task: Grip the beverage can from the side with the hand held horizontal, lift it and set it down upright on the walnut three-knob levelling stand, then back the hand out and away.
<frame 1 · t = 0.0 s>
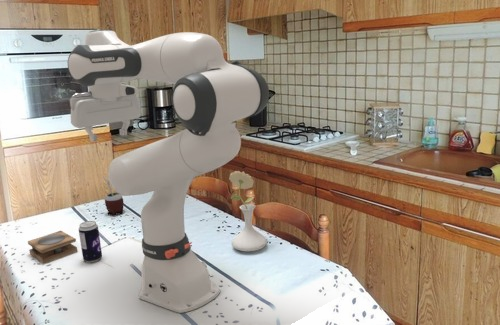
hand: (108, 137, 130), 39 cm above the table, tool pointing down, fingers open, 8 cm apart
flower in vase: (247, 246, 146), on the table
levelling stand: (53, 252, 148), on the table
mate gourd: (114, 213, 182), on the table
beverage can: (93, 260, 142), on the table
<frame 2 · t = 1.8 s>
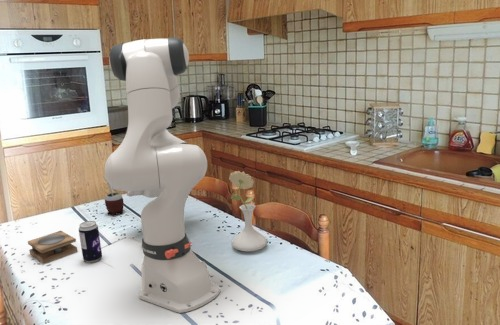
hand: (119, 191, 146), 19 cm above the table, tool horizontal, fingers open, 8 cm apart
nothing on the table moved.
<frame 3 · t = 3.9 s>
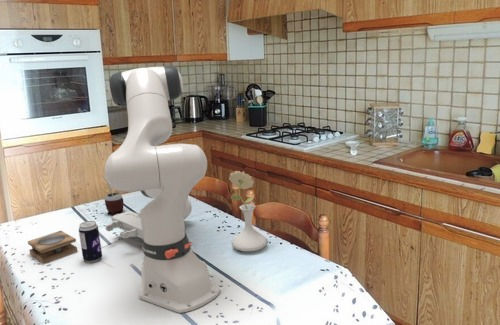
hand: (113, 232, 146), 6 cm above the table, tool horizontal, fingers open, 8 cm apart
nothing on the table moved.
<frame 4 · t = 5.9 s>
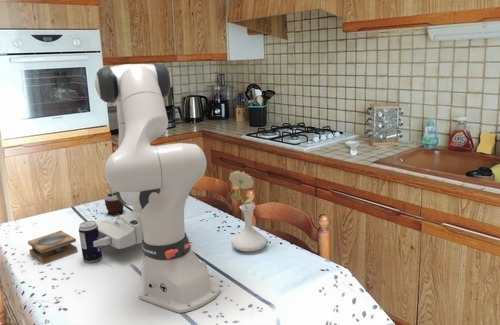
hand: (87, 241, 140), 7 cm above the table, tool horizontal, fingers closed on beverage can, 6 cm apart
beverage can: (93, 260, 142), on the table, touching gripper
everything else where it was.
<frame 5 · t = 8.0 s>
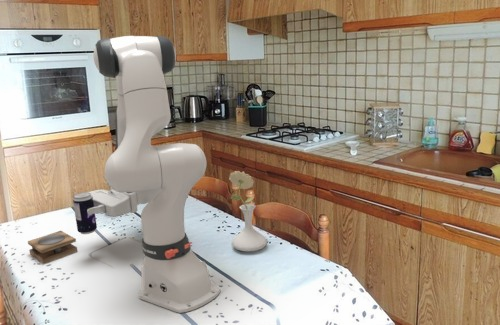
hand: (81, 209, 137), 17 cm above the table, tool horizontal, fingers closed on beverage can, 6 cm apart
beverage can: (87, 232, 140), point 9 cm above the table, touching gripper
everything else where it was.
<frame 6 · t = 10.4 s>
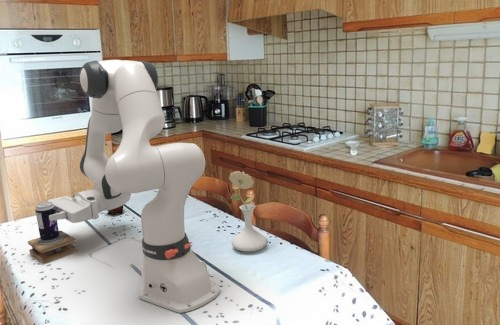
hand: (44, 215, 144), 13 cm above the table, tool horizontal, fingers closed on beverage can, 5 cm apart
beverage can: (50, 239, 147), point 5 cm above the table, touching gripper, levelling stand
everything else where it was.
when the fingers open (13 cm above the table, at t = 10.6 s): beverage can stays where it is, resting on levelling stand.
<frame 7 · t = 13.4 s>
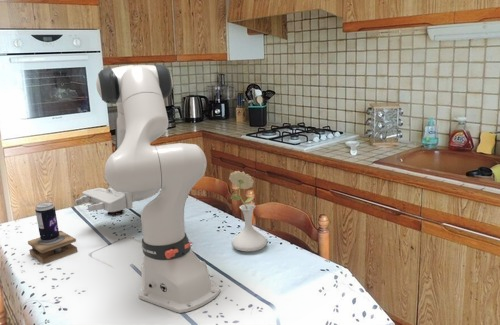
hand: (82, 205, 153), 13 cm above the table, tool horizontal, fingers open, 8 cm apart
beverage can: (50, 239, 147), point 5 cm above the table, touching levelling stand
everything else where it was.
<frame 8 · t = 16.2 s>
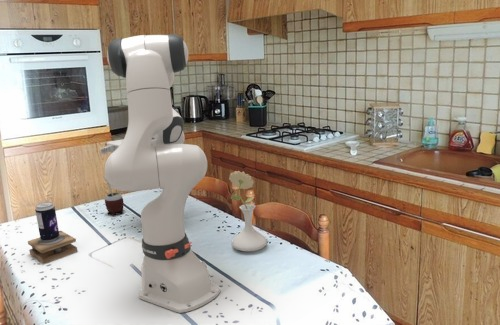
hand: (108, 153, 152), 30 cm above the table, tool horizontal, fingers open, 8 cm apart
nothing on the table moved.
at the end: beverage can 0.4 cm off-centre on the levelling stand, point 4.7 cm above the levelling stand's base; beverage can tilted 0°; the gripper is holding nothing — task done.
